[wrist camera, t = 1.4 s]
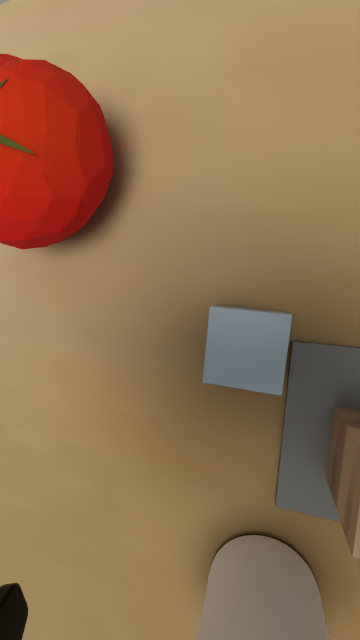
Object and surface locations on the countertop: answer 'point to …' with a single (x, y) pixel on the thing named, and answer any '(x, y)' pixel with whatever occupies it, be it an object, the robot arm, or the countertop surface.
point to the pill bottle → (261, 594)
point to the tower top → (350, 490)
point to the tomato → (48, 153)
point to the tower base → (339, 445)
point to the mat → (313, 423)
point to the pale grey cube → (247, 348)
